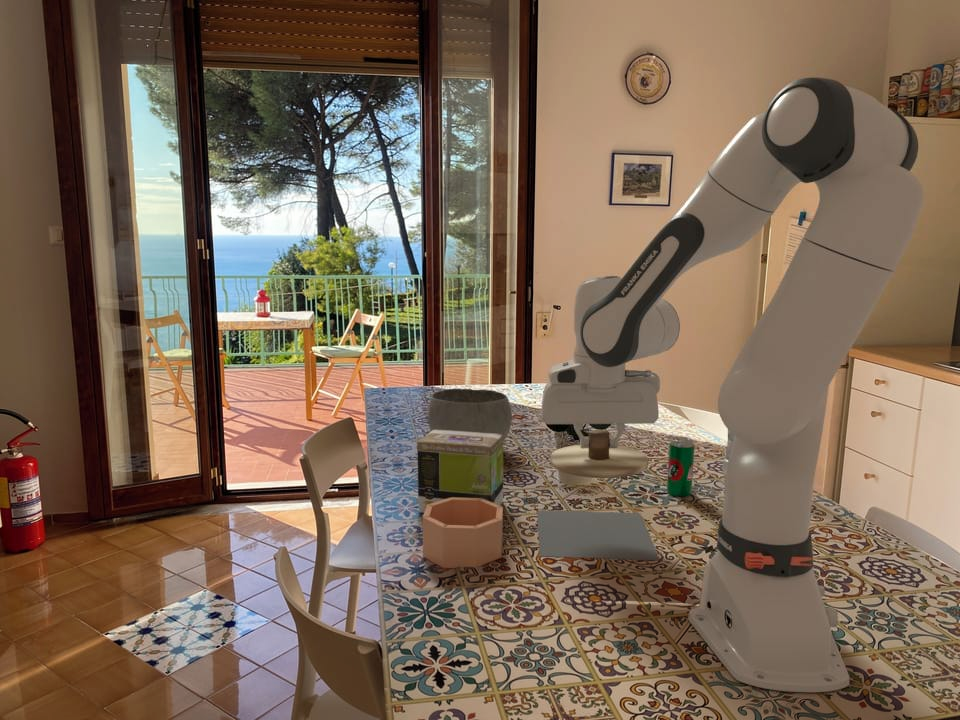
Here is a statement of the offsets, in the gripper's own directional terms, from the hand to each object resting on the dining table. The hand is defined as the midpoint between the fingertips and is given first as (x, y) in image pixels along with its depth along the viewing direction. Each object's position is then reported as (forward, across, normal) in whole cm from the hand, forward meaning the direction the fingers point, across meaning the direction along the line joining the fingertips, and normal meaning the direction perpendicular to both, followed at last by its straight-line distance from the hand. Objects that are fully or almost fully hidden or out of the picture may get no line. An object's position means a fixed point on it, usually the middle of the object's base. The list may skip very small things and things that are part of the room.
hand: (598, 447), depth 125 cm
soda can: (+17, -19, -23) cm, 34 cm away
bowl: (+15, +26, -48) cm, 57 cm away
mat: (+17, +1, -1) cm, 17 cm away
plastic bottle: (+17, -34, -33) cm, 50 cm away
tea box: (+16, +26, -12) cm, 32 cm away
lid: (+3, 0, 0) cm, 3 cm away
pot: (+16, +24, +7) cm, 30 cm away
